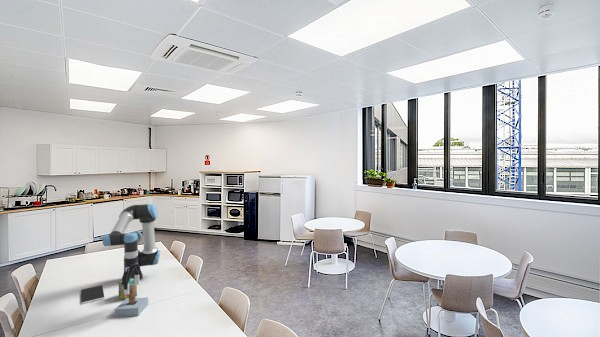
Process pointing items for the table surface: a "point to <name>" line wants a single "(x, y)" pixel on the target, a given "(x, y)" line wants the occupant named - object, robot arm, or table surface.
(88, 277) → the table surface
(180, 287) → the table surface
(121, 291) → the chalk box
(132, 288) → the dowel
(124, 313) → the socket block
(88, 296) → the smartphone
